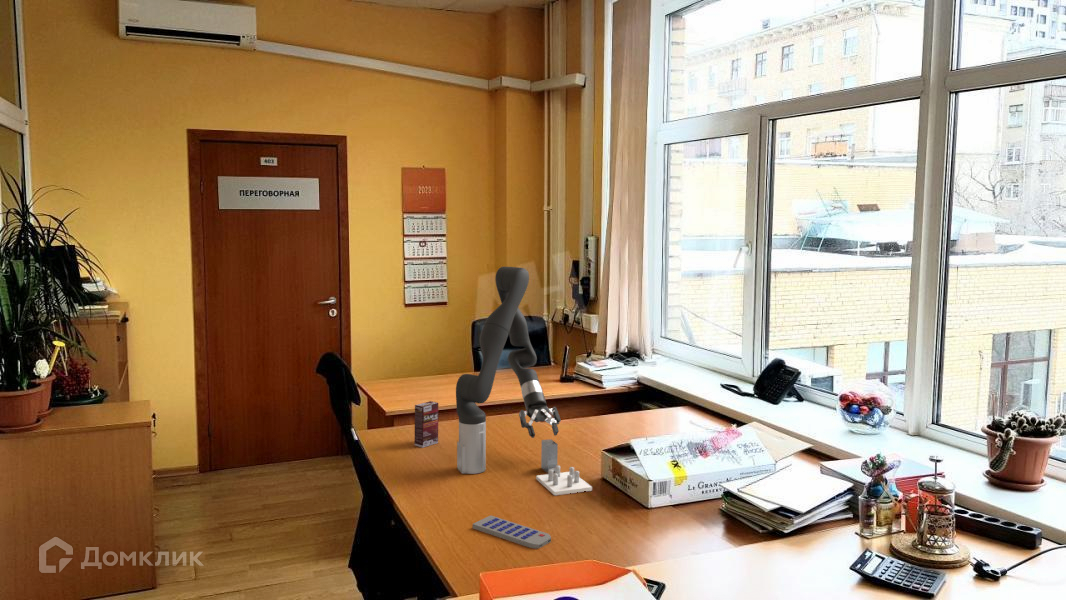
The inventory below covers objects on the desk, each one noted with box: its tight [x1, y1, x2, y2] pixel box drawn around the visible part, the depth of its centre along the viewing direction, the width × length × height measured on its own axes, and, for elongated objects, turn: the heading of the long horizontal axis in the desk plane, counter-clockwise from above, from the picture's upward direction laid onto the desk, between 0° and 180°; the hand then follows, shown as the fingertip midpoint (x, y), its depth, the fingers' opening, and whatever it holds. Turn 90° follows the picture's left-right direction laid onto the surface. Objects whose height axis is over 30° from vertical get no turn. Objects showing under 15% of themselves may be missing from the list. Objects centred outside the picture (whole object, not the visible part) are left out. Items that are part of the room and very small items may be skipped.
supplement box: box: [414, 400, 439, 448], centre depth 296 cm, size 9×5×16 cm, turn 143°
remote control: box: [472, 515, 552, 549], centre depth 215 cm, size 8×23×2 cm, turn 53°
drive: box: [540, 438, 559, 474], centre depth 268 cm, size 4×6×10 cm, turn 21°
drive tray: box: [535, 464, 593, 496], centre depth 254 cm, size 13×16×5 cm
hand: (544, 435), depth 271 cm, fingers open, 8 cm apart
